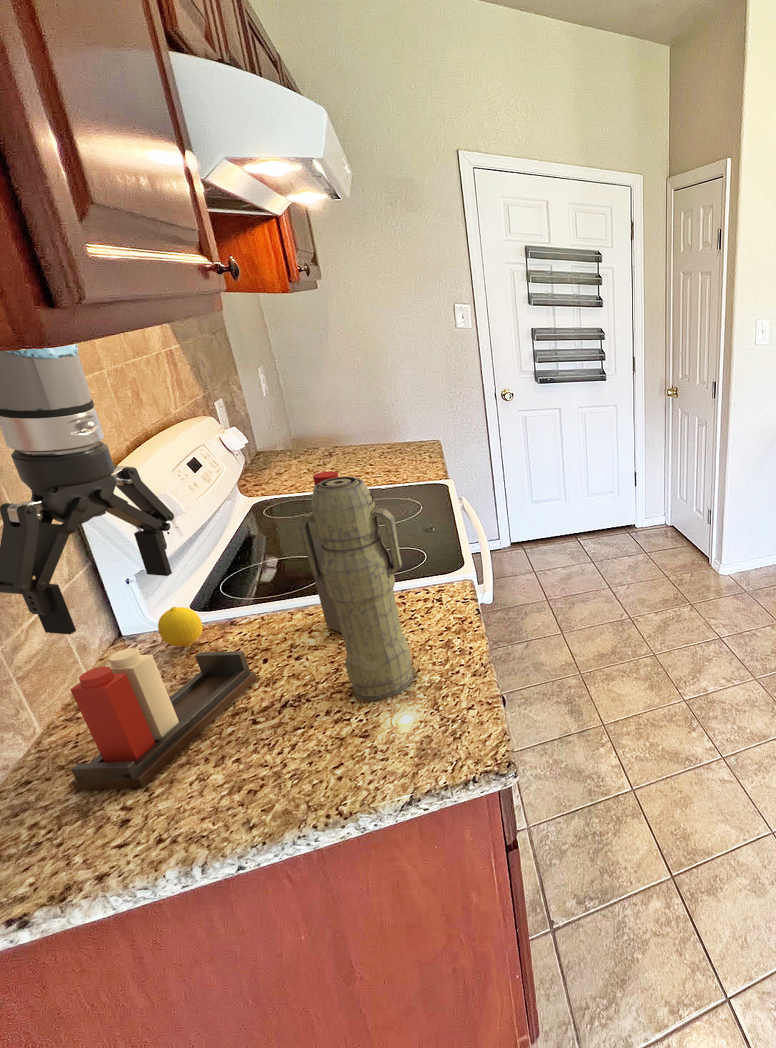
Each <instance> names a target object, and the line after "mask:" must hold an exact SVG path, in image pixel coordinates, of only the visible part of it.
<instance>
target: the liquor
mask: <svg viewBox="0 0 776 1048" xmlns="http://www.w3.org/2000/svg"><path fill="white" fill-rule="evenodd" d="M336 477H339V473H338V472H337V471H331V470H330V471H320V472H317V473H314V474H312V479H313V483H314V486H315V485H317V484H319V483H320V482H322V481H324V480H327V479H330V478H336ZM313 544H314V548H315V552H316V556H317V560H318V564H319V567H320V573H321V572H322V568H321V561H322V554H323V551H322V547H321V545H322V540H321V539H320V537H319V535H318V534H317V536H316V537H315V538H314V539H313ZM314 583H315V586H316V590H317V594H318V597H319V601H320V605H321V609H322V612H323V616H324V620H325V624H326V627H328V628H329V629H330V630H333V631H335V632H338V633H340V634H342V632H341V628H340V624H339V620H338V616H337V612H336V608H335V604H334V602H333V601H332V600H331V599H330V597H329V595H328V592H327V588H326V584H323V583H322V580H321V581H315V580H314Z"/></svg>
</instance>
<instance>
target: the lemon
mask: <svg viewBox="0 0 776 1048" xmlns="http://www.w3.org/2000/svg"><path fill="white" fill-rule="evenodd" d="M157 628H158V634H159V636H160V638H161V639H162V641H163V642H164V643H166V644H168V645H170V646H174V647H183V648H184V647H185V648H188V647H190V646H191V645H192V644H193V643H194V642H196V641H197V640H198V639H199V638H200V637H201V635H202V632H203V622H202V620H201V617H200V616H199V614H197V612H195V610H193V609H191V608H188V607H185V606H184V607H183V606H180V607H177V606H173V607H171V608H170V609H169V610H167V611H165V612H164V613H163V614H162V615H161V616H160V617H159V619H158V622H157Z"/></svg>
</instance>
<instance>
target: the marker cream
mask: <svg viewBox="0 0 776 1048" xmlns="http://www.w3.org/2000/svg"><path fill="white" fill-rule="evenodd" d="M108 661H109V662H108V663H107V664H105V665H104V666H103V667H110V668H111V670H112V672H113V674H120V673H126V675H127V677H128V679H129V682H130V684H131V686H132V689H133V691H134V693H135V696H136V698H137V701H138V703H139V705H140V708H141V710H142V712H143V715H144V717H145V719H146V722H147V724H148V726H149V729H150V731H151V734H152V736H153V738H154V740H160V739H162V738H163V737H164V736H165V735H166V734H167V733H168V732H169V731H171V730H172V729H173V728H174V727H175V726H176V725H177V724H178V723H179V721H178V718H177V716H176V713H175V711H174V708H173V706H172V703H171V700H170V698H169V697H170V696H169V693H168V691H167V687H166V685H165V683H164V681H163V678H162V676H161V673H160V671H159V668H158V666H157V663H156V660H155V658H154V655H153V654H141V652H140V650H139V649H138V648H136V647H130V648H125V649H121V650H118V651H116V652H114V653H112V654H111V655H109V657H108Z"/></svg>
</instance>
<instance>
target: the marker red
mask: <svg viewBox="0 0 776 1048" xmlns="http://www.w3.org/2000/svg"><path fill="white" fill-rule="evenodd" d="M78 680H79V683H78V684H76V685H74V686H73V687H72V688H70V692H71V694H72V696H73V699H74V700H75V703H76V705H77V707H78V709H79V711H80V714H81V715H82V718H83V720H84V722H85V725H86V726H87V728H88V730H89V733H90V735H91V737H92V739H93V741H94V743H95V745H96V747H97V749H98V752H99V755H100V754H101V756H102V758H103V760H104V762H105V763H107V762H131V761H134V763H135V762H136V761H137V760H138V759H139V758H140V757H141V756H142V755H144V754H145V753H146V752H147V751H148V750H149V749H150V748H151V747H153V746H154V745H155V744H156V743H155V741H154V738H153V736H152V734H151V731H150V729H149V726H148V724H147V722H146V719H145V717H144V715H143V712H142V710H141V708H140V705H139V703H138V701H137V698H136V696H135V693H134V691H133V689H132V686H131V684H130V682H129V679H128V677H127V675H126V673H120V674H113V672H112V670H111V668H110V667H104V666H99V667H95V668H92V669H89V670H87V671H85V672H83V673H82V674H80V676H79V677H78Z"/></svg>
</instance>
